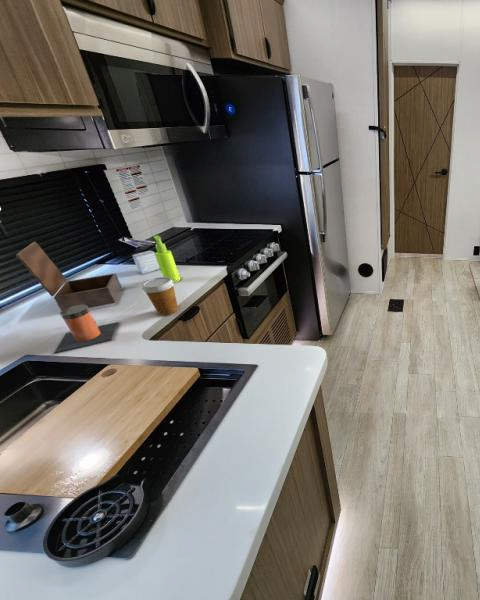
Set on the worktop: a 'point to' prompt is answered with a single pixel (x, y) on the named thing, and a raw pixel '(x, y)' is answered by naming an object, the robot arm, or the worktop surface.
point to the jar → (80, 322)
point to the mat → (71, 343)
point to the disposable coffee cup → (161, 294)
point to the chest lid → (42, 268)
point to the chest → (89, 292)
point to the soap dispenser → (166, 261)
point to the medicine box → (146, 261)
